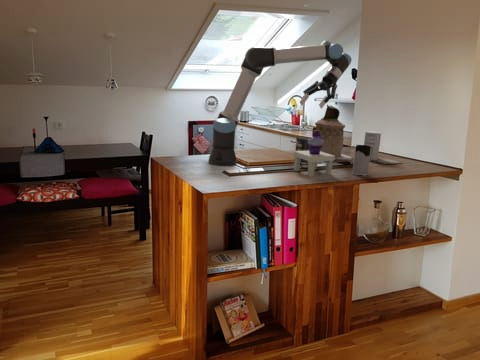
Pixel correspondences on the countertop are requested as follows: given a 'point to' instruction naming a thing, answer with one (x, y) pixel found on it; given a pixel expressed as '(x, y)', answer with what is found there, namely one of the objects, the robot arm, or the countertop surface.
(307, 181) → the countertop surface
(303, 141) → the coffee can
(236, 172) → the countertop surface
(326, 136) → the cookie jar
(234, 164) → the robot arm
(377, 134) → the supplement box
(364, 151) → the glass holder
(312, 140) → the potion bottle
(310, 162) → the footstool
